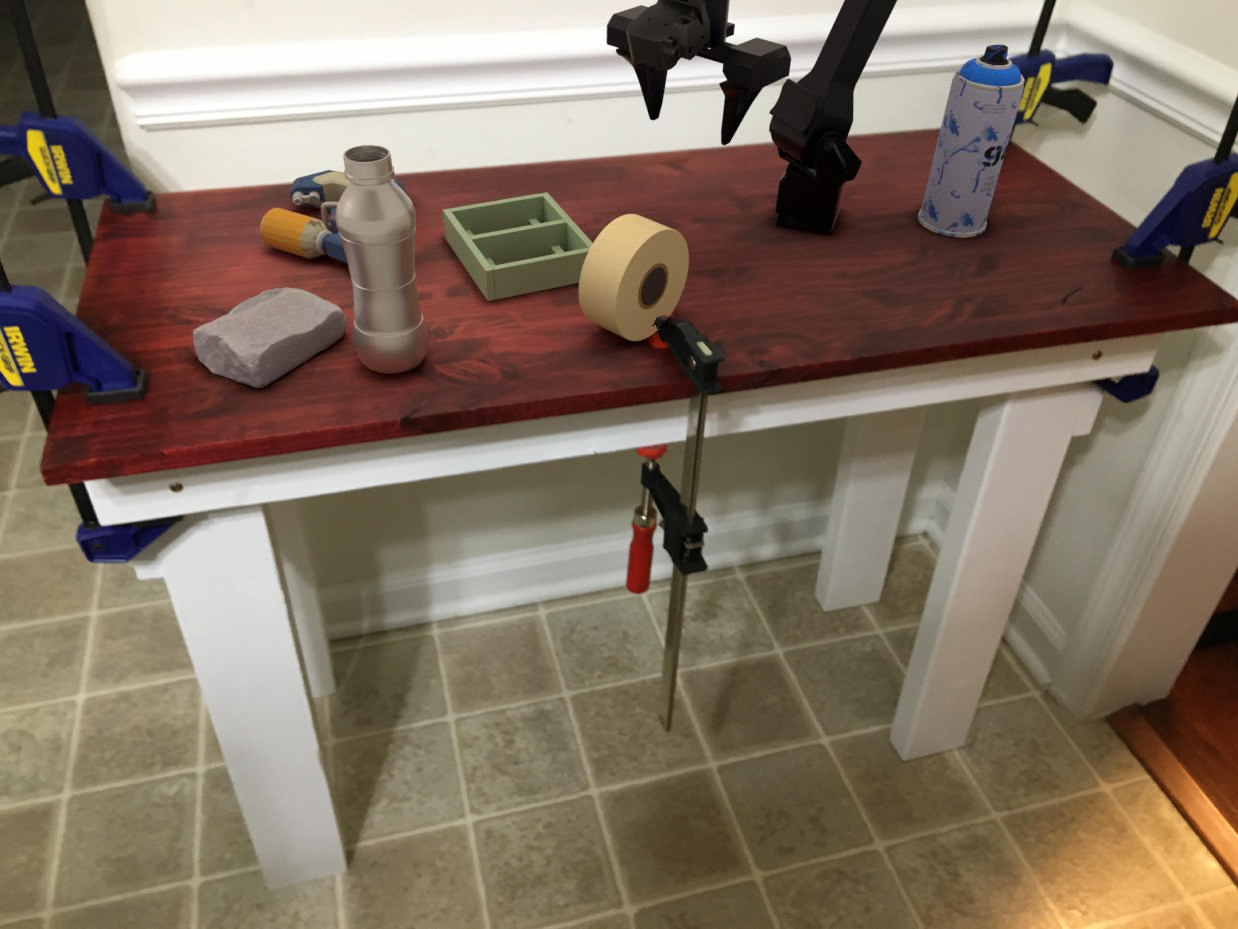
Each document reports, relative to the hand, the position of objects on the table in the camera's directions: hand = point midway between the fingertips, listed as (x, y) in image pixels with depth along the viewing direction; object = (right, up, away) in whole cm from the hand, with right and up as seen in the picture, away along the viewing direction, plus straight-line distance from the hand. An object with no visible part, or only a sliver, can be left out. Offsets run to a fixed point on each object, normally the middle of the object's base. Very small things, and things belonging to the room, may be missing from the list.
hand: (689, 131), depth 104 cm
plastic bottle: (-28, -25, -11) cm, 39 cm away
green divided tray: (-18, -12, +5) cm, 22 cm away
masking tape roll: (-6, -17, -8) cm, 19 cm away
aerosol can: (+32, -6, +15) cm, 36 cm away
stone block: (-40, -23, -9) cm, 47 cm away
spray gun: (-38, -9, +8) cm, 40 cm away
